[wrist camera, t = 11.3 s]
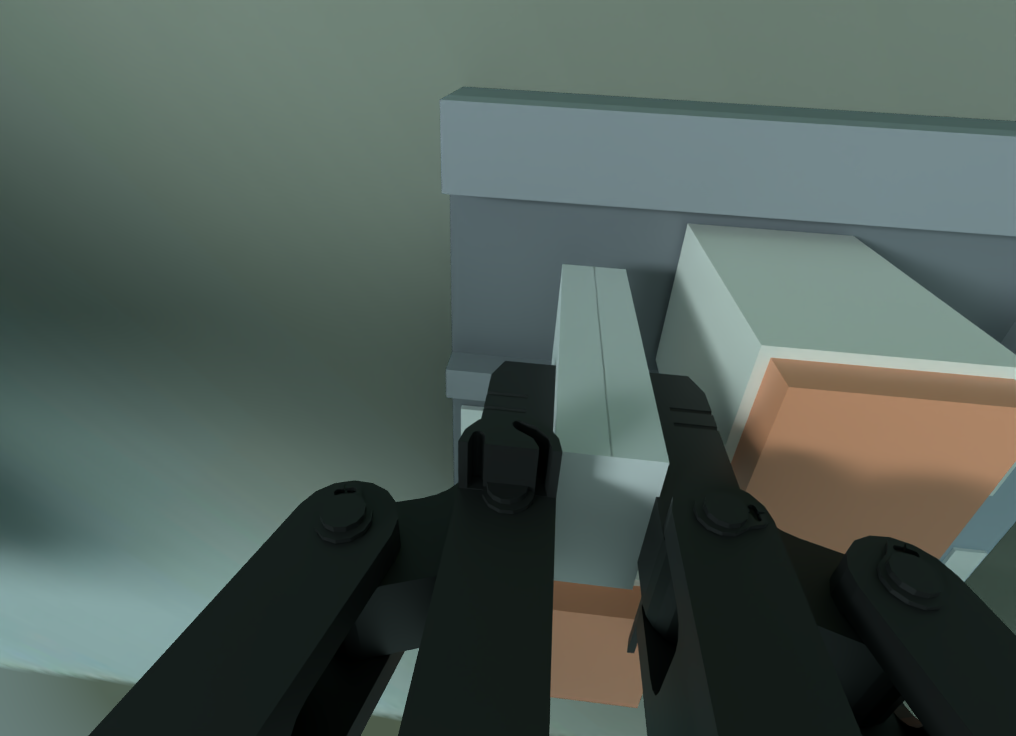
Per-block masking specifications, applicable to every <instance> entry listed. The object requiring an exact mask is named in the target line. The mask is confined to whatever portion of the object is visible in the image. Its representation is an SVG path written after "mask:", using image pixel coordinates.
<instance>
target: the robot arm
mask: <svg viewBox="0 0 1016 736" xmlns="http://www.w3.org/2000/svg"><path fill="white" fill-rule="evenodd" d="M711 412H712V411H711V408H710V405H709V403H708V400H707V397H706V394H705V393H704V392H703V391H702V390H701V389H700V388H699V387H698V386H697V385H696V384H695V383H694V382H693V381H692V380H691V379H690V378H689V377H688V376H681V375H670V374H660V373H649V370H648V366H647V361H646V357H645V353H644V348H643V344H642V339H641V335H640V330H639V326H638V321H637V317H636V313H635V308H634V304H633V299H632V295H631V290H630V286H629V282H628V277H627V273H626V269H615V268H604V267H592V266H580V265H568V264H562V273H561V282H560V291H559V300H558V309H557V318H556V327H555V336H554V345H553V354H552V364H551V365H546V364H535V363H525V362H514V361H504V362H503V363H502V364H501V365H500V366H499V367H498V368H497V369H496V370H495V371H494V372H493V373H492V374H491V378H490V382H489V387H488V391H487V395H486V400H485V404H484V409H483V413H482V417H481V419H479V420H477V421H476V422H474V423H473V424H471V425H470V426H469V427H467V428H466V429H465V430H464V432H463V434H462V435H461V437H460V439H459V440H458V483H457V484H455V485H454V486H453V487H451V488H450V489H448V490H446V491H444V492H442V493H439V494H437V495H434V496H430V497H425V498H421V499H414V500H408V501H401V502H395V500H394V499H393V498H392V496H391V495H390V493H389V492H388V491H387V490H385V489H383V488H381V487H379V486H377V485H376V484H374V483H368V482H361V481H348V482H341V483H334V484H332V485H330V486H327V487H325V488H323V489H320V490H318V491H316V492H314V493H313V494H312V495H311V496H309V497H308V498H307V499H306V500H304V501H303V502H302V503H301V504H300V505H299V506H298V507H297V508H296V509H295V510H294V511H293V512H292V513H291V515H290V516H289V517H288V518H287V519H286V520H285V521H284V522H283V523H282V524H281V526H280V527H279V528H278V529H277V530H276V531H275V532H274V533H273V534H272V535H271V536H270V538H269V539H268V540H267V541H266V542H265V543H264V544H263V545H262V546H261V547H260V549H259V550H258V551H257V552H256V553H255V554H254V555H253V556H252V557H251V558H250V559H249V561H248V562H247V563H246V564H245V565H244V566H243V567H242V568H241V569H240V570H239V571H238V573H237V574H236V575H235V576H234V577H233V578H232V579H231V580H230V581H229V582H228V584H227V585H226V586H225V587H224V588H223V589H222V590H221V591H220V592H219V593H218V594H217V596H216V597H215V598H214V599H213V600H212V601H211V602H210V603H209V604H208V605H207V607H206V608H205V609H204V610H203V611H202V612H201V613H200V614H199V615H198V616H197V617H196V619H195V620H194V621H193V622H192V623H191V624H190V625H189V626H188V627H187V628H186V630H185V631H184V632H183V633H182V634H181V635H180V636H179V637H178V638H177V639H176V640H175V642H174V643H173V644H172V645H171V646H170V647H169V648H168V649H167V650H166V651H165V653H164V654H163V655H162V656H161V657H160V658H159V659H158V660H157V661H156V662H155V663H154V665H153V666H152V667H151V668H150V669H149V670H148V671H147V672H146V673H145V674H144V676H143V677H142V678H141V679H140V680H139V681H138V682H137V683H136V684H135V685H134V686H133V688H132V689H131V690H130V691H129V692H128V693H127V694H126V695H125V696H124V697H123V698H122V700H121V701H120V702H119V703H118V704H117V705H116V706H115V707H114V708H113V710H112V711H111V712H110V713H109V714H108V715H107V716H106V717H105V718H104V719H103V720H102V721H101V723H100V724H99V725H98V726H97V727H96V728H95V729H94V730H93V731H92V732H91V734H90V735H89V736H361V734H362V732H363V730H364V728H365V726H366V724H367V722H368V720H369V718H370V717H371V715H372V713H373V711H374V709H375V707H376V705H377V703H378V701H379V699H380V697H381V696H382V694H383V692H384V690H385V688H386V686H387V684H388V682H389V680H390V678H391V676H392V675H393V673H394V671H395V669H396V667H397V665H398V663H399V661H400V659H401V657H402V655H403V654H404V652H405V651H407V650H411V649H416V648H419V652H418V656H417V660H416V664H415V668H414V672H413V676H412V680H411V684H410V689H409V693H408V697H407V701H406V705H405V709H404V713H403V717H402V721H401V726H400V730H399V734H398V736H549V724H550V690H551V656H552V622H553V588H554V581H563V582H571V583H579V584H588V585H596V586H605V587H613V588H621V589H630V590H632V589H633V586H634V582H635V579H636V575H637V572H639V580H640V589H641V600H640V603H639V606H638V610H637V613H636V616H635V619H634V622H633V626H632V629H631V632H630V635H629V639H628V647H627V653H634V652H635V649H636V646H637V643H638V651H639V660H640V670H641V679H642V689H643V698H644V708H645V717H646V727H647V736H1016V635H1015V634H1014V633H1013V632H1012V631H1011V630H1010V629H1009V628H1008V627H1007V626H1006V625H1005V624H1004V623H1003V622H1002V621H1001V620H1000V619H999V618H998V617H997V616H996V615H995V614H994V613H993V612H992V611H991V610H990V608H989V607H988V606H987V605H986V604H985V603H984V602H983V601H982V600H981V599H980V598H979V597H978V596H977V595H976V594H975V593H974V592H973V591H972V590H971V589H970V588H969V587H968V586H967V585H966V584H965V583H964V582H963V580H962V579H961V578H960V577H959V576H958V575H956V574H955V573H954V572H953V571H952V570H950V569H949V568H948V567H947V566H946V565H945V564H943V563H942V562H941V561H940V560H939V559H937V558H936V557H934V556H932V555H930V554H929V553H927V552H925V551H923V550H922V549H920V548H918V547H916V546H914V545H912V544H909V543H906V542H903V541H900V540H897V539H894V538H891V537H883V536H870V535H869V536H866V537H863V538H860V539H857V540H854V542H853V543H852V544H851V546H850V547H849V549H848V550H847V551H846V553H845V554H843V553H840V552H837V551H834V550H831V549H829V548H826V547H823V546H820V545H817V544H814V543H812V542H809V541H806V540H803V539H800V538H798V537H795V536H793V535H791V534H789V533H786V532H784V531H782V530H780V529H779V528H777V526H776V524H775V521H774V520H773V518H772V517H771V515H770V514H769V512H768V511H767V509H766V508H765V506H764V505H762V504H761V503H760V502H759V501H758V500H757V499H755V498H754V497H753V496H752V495H751V494H749V493H747V492H745V491H743V490H741V489H740V487H739V485H738V482H737V479H736V476H735V474H734V471H733V468H732V465H731V463H730V460H729V457H728V455H727V452H726V449H725V446H724V444H723V441H722V438H721V435H720V433H719V431H717V425H716V422H715V419H714V416H713V415H711ZM904 700H905V701H906V703H907V704H908V705H909V707H910V708H911V710H912V711H913V712H914V714H915V715H916V717H917V718H918V719H919V720H918V719H917V718H915V717H914V716H913V715H912V714H911V712H910V711H909V710H908V709H907V708H906V707H905V705H904V704H903V702H904Z"/></svg>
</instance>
